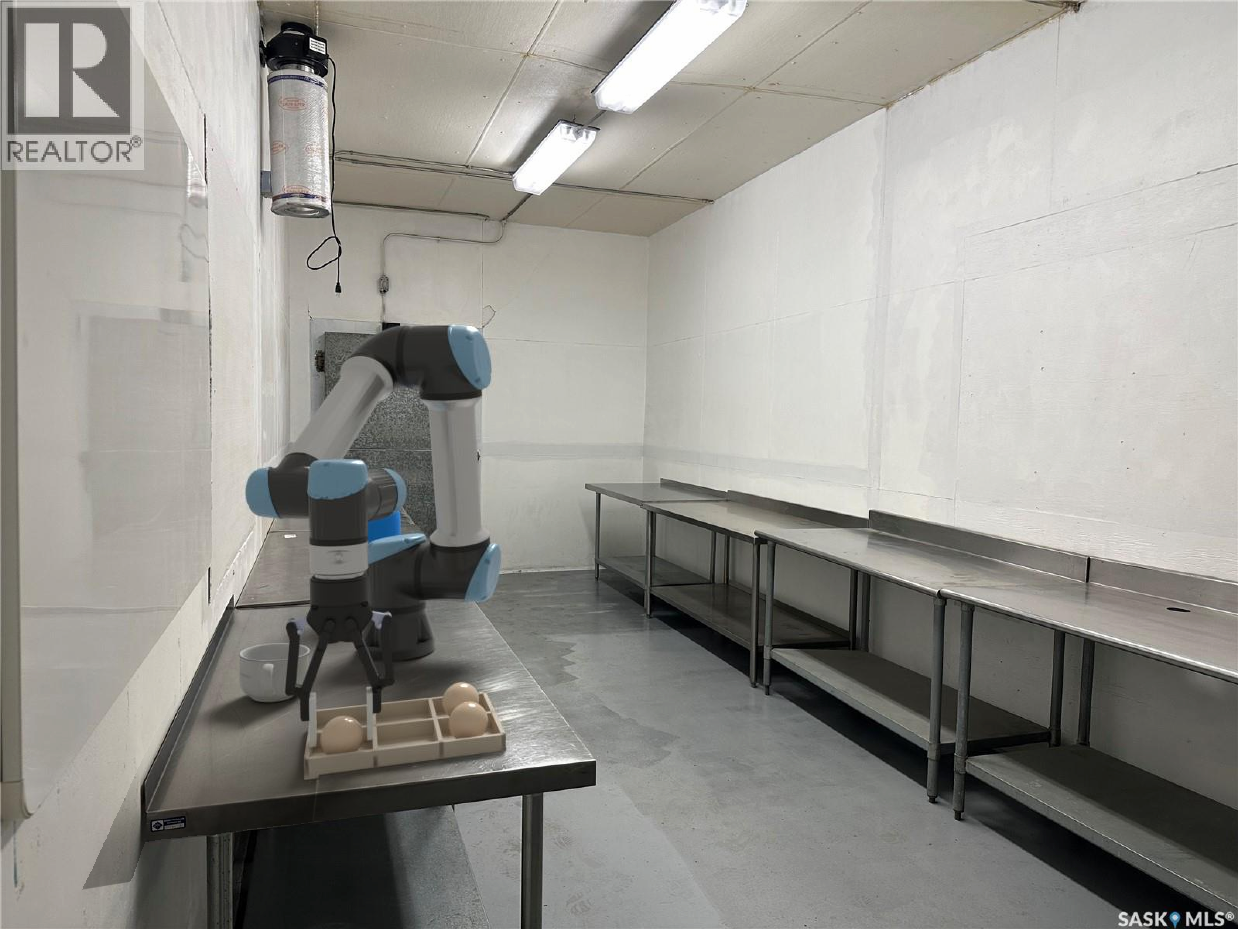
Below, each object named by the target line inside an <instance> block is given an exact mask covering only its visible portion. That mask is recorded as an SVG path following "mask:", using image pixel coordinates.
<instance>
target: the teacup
mask: <svg viewBox="0 0 1238 929" xmlns="http://www.w3.org/2000/svg"><path fill="white" fill-rule="evenodd" d="M288 652H289V642H287V643H286V642H273V643H265V644H264V643H263V644H257V645H253V646H250V647H246V648H244V649H243V650H241V651H240V652H239V655H238V656H239V686H240V688H241V691H242V692H243V693H244V694H245V695H247V696H248V697H250V698H251V699H252V700H253V701H255V702H260V703H261V702H262V703H276V702H281V701H286V700H290V699H291V698H293V697H294V696H293V695H292V696H287V695H286V694H285V686H286V674H287V663H288ZM310 652H311V650H310V648H309V647H308V646H307V645H303V644H300V647H299V658H298V669H297V681H296V683H297V684H301V685H302V684H303V681H304V678H305V675H306V673H307V670H308V667H309V663H310V662H309V657H310Z"/></svg>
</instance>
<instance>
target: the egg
mask: <svg viewBox="0 0 1238 929" xmlns="http://www.w3.org/2000/svg"><path fill="white" fill-rule="evenodd" d="M362 741H363V729H362V726H361V725H360V723H359V722H358V721H357V720H356V719H354V718H352V717H350V716H339V717H336V718H333V719H332V720H330V721H329V722H328V723H327V724H326V725H325V726H324V728H323V730H322V732H321V736H320V744H321V747H322V749H323V751H324V752H325V753H326V754H327V755H331V754H339V753H347V752H355V751H357V750H358V749H359V748H360V746H361V744H362Z"/></svg>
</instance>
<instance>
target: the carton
mask: <svg viewBox="0 0 1238 929" xmlns="http://www.w3.org/2000/svg"><path fill="white" fill-rule="evenodd" d="M478 695H479V705H481V706H482V707H483V708H484V709H485V711H486V713H487V716H488V726H487V729H486V731H485V733H484V734H483V735H482V736H475V737H467V738H459V739H456V738H455V737H454V736H453V735H452V734H451V732H450V729H449V717H450V716H448V715H447V714H446V713H445V711H444V709H443V705H442V700H443V696H444V695H442V696H441V695H440V696H435V697H434V696H432V697H424V698H423V697H422V698H414V699H406V700H396V701H387V702H386V701H385V702H381V711H380V713H375V714H373V740H367V703H365V704H360V705H349V706H348V705H347V706H342V707H341V706H339V707H331V708H329V707H328V708H323V709H322V708H320V709H316V718H317V742H316V746H315V747H310V726H309V725H308V728H307V736H306V737H307V738H306V743H305V750H304V756H303V779H304V781H306V780H307V781H308V780H314V779H319V778H320V777H319V776H320V775H326V774H327V775H328V774H333V773H341V772H342V773H343V772H350V771H357V770H363V769H364V770H365V769H373V768H380V767H387V766H394V765H395V766H396V765H404V764H409V763H417V762H418V763H419V762H425V761H433V760H434V761H435V760H441V759H447V758H456V757H462V756H463V757H464V756H470V755H477V754H486V753H492V752H500V751H506V750H507V734H506V732H505V730H504V727H503V725H502V723H501V721H500V719H499V717H498V715H497V712H496V710H495V708H494V706H493V704H492V702H491V700H490V698H489V695H488V693H487V691H481V692H478ZM339 716H350V717H352V718H354V719H356V720H357V721H358V722H359V723H360V725H361V726H362V729H363V741H362V744H361V746H360V748H359V749H358V750H357V751H355V752H347V753H339V754H331V755H327V754H326V753H325V752H324V751H323V749H322V747H321V744H320V736H321V732H322V730H323V728H324V726H325V725H326V724H327V723H328V722H329V721H330V720H332V719H333V718H336V717H339Z"/></svg>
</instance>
